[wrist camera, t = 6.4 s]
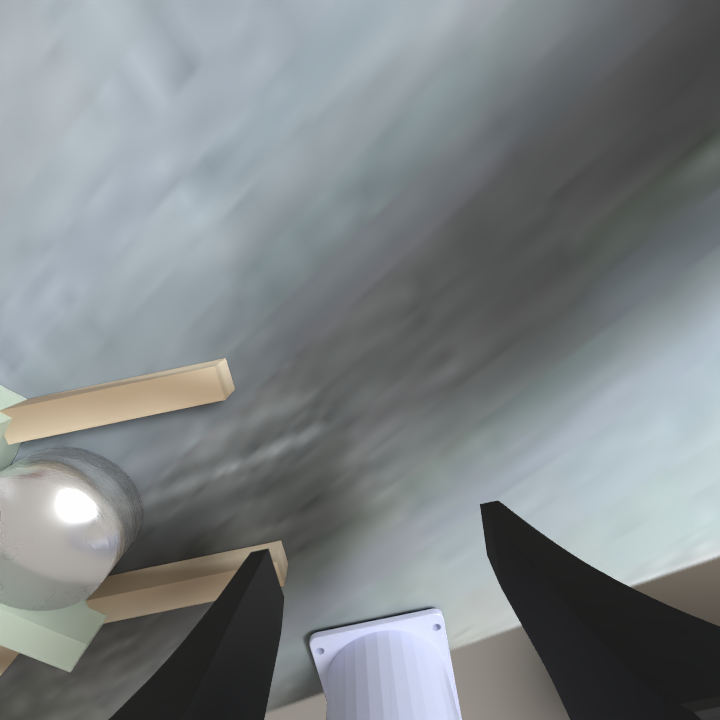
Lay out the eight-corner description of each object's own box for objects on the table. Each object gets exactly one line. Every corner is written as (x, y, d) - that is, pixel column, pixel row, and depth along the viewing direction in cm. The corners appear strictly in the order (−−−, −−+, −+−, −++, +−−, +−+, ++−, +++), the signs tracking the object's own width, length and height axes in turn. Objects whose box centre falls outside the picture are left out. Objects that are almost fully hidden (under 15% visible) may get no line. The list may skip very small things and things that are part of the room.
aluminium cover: (163, 546, 20) (132, 593, 17) (40, 572, 20) (-13, 624, 17) (116, 432, 18) (73, 463, 15) (-19, 461, 18) (-88, 497, 15)
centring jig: (296, 590, 21) (288, 643, 18) (-9, 652, 21) (-66, 715, 18) (213, 319, 17) (186, 329, 14) (-162, 397, 17) (-269, 424, 14)
